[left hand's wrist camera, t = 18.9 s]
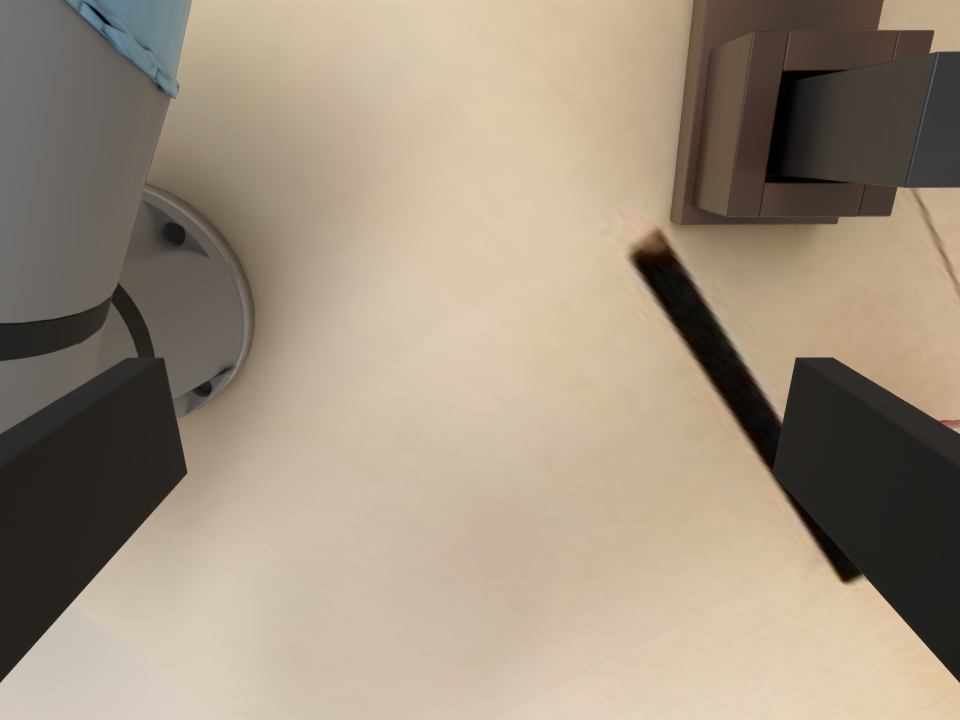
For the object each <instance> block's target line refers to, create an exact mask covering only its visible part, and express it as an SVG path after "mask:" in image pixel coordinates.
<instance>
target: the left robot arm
mask: <svg viewBox="0 0 960 720" xmlns="http://www.w3.org/2000/svg"><path fill="white" fill-rule="evenodd" d="M191 3H192V0H0V682H1V681H2V680H3V679H4V678H5V677H6V676H7V675H8V673H9V672H10V671H11V670H12V669H13V668H14V667H15V666H16V665H17V663H18V662H19V661H20V660H21V659H22V658H23V657H24V656H25V654H26V653H27V652H28V651H29V650H30V649H31V648H32V647H33V646H34V644H35V643H36V642H37V641H38V640H39V639H40V638H41V637H42V635H43V634H44V633H45V632H46V631H47V630H48V629H49V627H50V626H51V625H52V624H53V623H54V622H55V621H56V620H57V619H58V617H59V616H60V615H61V614H62V613H63V612H64V611H65V610H66V608H67V607H68V606H69V605H70V604H71V603H72V602H73V601H74V600H75V598H76V597H77V596H78V595H79V594H80V593H81V592H82V591H83V589H84V588H85V587H86V586H87V585H88V584H89V583H90V582H91V581H92V579H93V578H94V577H95V576H96V575H97V574H98V573H99V572H100V570H101V569H102V568H103V567H104V566H105V565H106V564H107V563H108V561H109V560H110V559H111V558H112V557H113V556H114V555H115V554H116V553H117V551H118V550H119V549H120V548H121V547H122V546H123V545H124V544H125V542H126V541H127V540H128V539H129V538H130V537H131V536H132V535H133V533H134V532H135V531H136V530H137V529H138V528H139V527H140V526H141V524H142V523H143V522H144V521H145V520H146V519H147V518H148V517H149V516H150V514H151V513H152V512H153V511H154V510H155V509H156V508H157V507H158V505H159V504H160V503H161V502H162V501H163V500H164V499H165V498H166V496H167V495H168V494H169V493H170V492H171V491H172V490H173V489H174V488H175V486H176V485H177V484H178V483H179V482H180V481H181V480H182V479H183V477H184V476H185V475H186V474H187V468H186V463H185V458H184V454H183V449H182V444H181V439H180V434H179V429H178V424H177V418H180V417H182V416H185V415H187V414H189V413H191V412H193V411H195V410H197V409H199V408H200V407H202V406H204V405H205V404H207V403H208V402H209V401H211V400H212V399H213V398H215V397H216V396H217V395H218V394H219V393H220V392H221V391H222V390H223V389H224V388H225V387H226V386H227V385H228V384H229V383H230V382H231V381H232V380H233V379H234V377H235V376H236V375H237V373H238V372H239V370H240V369H241V367H242V365H243V363H244V361H245V359H246V357H247V354H248V352H249V349H250V345H251V341H252V337H253V328H254V311H253V302H252V297H251V292H250V288H249V285H248V281H247V279H246V276H245V274H244V271H243V269H242V267H241V265H240V263H239V261H238V259H237V257H236V255H235V254H234V252H233V250H232V249H231V247H230V246H229V244H228V243H227V242H226V240H225V239H224V238H223V236H222V235H221V234H220V233H219V232H218V231H217V230H216V228H215V227H214V226H213V225H212V224H211V223H210V222H209V221H208V220H207V219H205V218H204V217H203V216H202V215H201V214H200V213H198V212H197V211H196V210H195V209H193V208H192V207H191V206H189V205H188V204H186V203H185V202H183V201H182V200H180V199H178V198H177V197H175V196H173V195H171V194H169V193H167V192H165V191H163V190H160V189H158V188H156V187H153V186H150V185H147V184H145V183H146V179H147V175H148V172H149V169H150V165H151V162H152V159H153V155H154V152H155V149H156V145H157V142H158V139H159V135H160V132H161V129H162V125H163V122H164V119H165V116H166V112H167V109H168V106H169V102H170V99H171V97H172V98H174V99H176V96H177V94H178V91H179V84H178V82H177V80H176V74H177V69H178V64H179V59H180V54H181V49H182V44H183V39H184V34H185V30H186V25H187V20H188V16H189V12H190V7H191ZM773 474H774V475H775V476H776V477H777V479H778V480H779V481H780V482H781V483H782V484H783V485H784V486H785V488H786V489H787V490H788V491H789V492H790V493H791V494H792V495H793V496H794V498H795V499H796V500H797V501H798V502H799V503H800V504H801V505H802V507H803V508H804V509H805V510H806V511H807V512H808V513H809V514H810V516H811V517H812V518H813V519H814V520H815V521H816V522H817V523H818V524H819V526H820V527H821V528H822V529H823V530H824V531H825V532H826V533H827V535H828V536H829V537H830V538H831V539H832V540H833V541H834V542H835V544H836V545H837V546H838V547H839V548H840V549H841V550H842V551H843V553H844V554H845V555H846V556H847V557H848V558H849V559H850V560H851V561H852V563H853V564H854V565H855V566H856V567H857V568H858V569H859V570H860V572H861V573H862V574H863V575H864V576H865V577H866V578H867V579H868V581H869V582H870V583H871V584H872V585H873V586H874V587H875V588H876V589H877V591H878V592H879V593H880V594H881V595H882V596H883V597H884V598H885V600H886V601H887V602H888V603H889V604H890V605H891V606H892V607H893V609H894V610H895V611H896V612H897V613H898V614H899V615H900V616H901V617H902V619H903V620H904V621H905V622H906V623H907V624H908V625H909V626H910V628H911V629H912V630H913V631H914V632H915V633H916V634H917V635H918V637H919V638H920V639H921V640H922V641H923V642H924V643H925V644H926V646H927V647H928V648H929V649H930V650H931V651H932V652H933V653H934V654H935V656H936V657H937V658H938V659H939V660H940V661H941V662H942V663H943V665H944V666H945V667H946V668H947V669H948V670H949V671H950V672H951V674H952V675H953V676H954V677H955V678H956V679H957V680H958V681H959V682H960V434H959V433H957V432H956V431H954V430H952V429H951V428H949V427H947V426H946V425H944V424H942V423H941V422H939V421H937V420H936V419H934V418H932V417H931V416H929V415H927V414H926V413H924V412H922V411H921V410H919V409H917V408H916V407H914V406H912V405H911V404H909V403H907V402H906V401H904V400H902V399H901V398H899V397H897V396H896V395H894V394H892V393H891V392H889V391H887V390H886V389H884V388H882V387H881V386H879V385H877V384H876V383H874V382H872V381H871V380H869V379H868V378H866V377H864V376H863V375H861V374H859V373H858V372H856V371H854V370H853V369H851V368H849V367H848V366H846V365H844V364H843V363H841V362H839V361H838V360H836V359H834V358H796V360H795V365H794V370H793V375H792V380H791V385H790V389H789V394H788V399H787V404H786V409H785V414H784V419H783V424H782V429H781V434H780V439H779V444H778V449H777V454H776V458H775V463H774V468H773Z"/></svg>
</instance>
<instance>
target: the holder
mask: <svg viewBox="0 0 960 720" xmlns="http://www.w3.org/2000/svg"><path fill="white" fill-rule="evenodd" d="M882 5H883V0H694V6H693V15H692V24H691V34H690V43H689V52H688V62H687V71H686V80H685V89H684V99H683V108H682V117H681V126H680V136H679V145H678V154H677V163H676V173H675V182H674V191H673V200H672V210H671V219H670V220H671V221H673V222H676V223H678V224H681V225H743V224H837V222H838V218H839V217H857V216H859V217H867V216H890V215H891V212H892V208H893V204H894V199H895V195H896V191H897V187H893V186H884V185H874V184H864V183H854V182H844V181H834V180H825V179H815V178H805V177H795V176H785V175H776V174H766V169H767V163H768V156H769V150H770V144H771V138H772V131H773V125H774V119H775V113H776V107H777V100H778V94H779V88H780V84H781V83H786V82H791V81H796V80H801V79H806V78H811V77H816V76H821V75H826V74H831V73H836V72H841V71H846V70H851V69H855V68H860V67H865V66H870V65H875V64H880V63H885V62H890V61H895V60H900V59H905V58H910V57H915V56H920V55H925V54H929V52H930V48H931V44H932V40H933V35H934V31H933V30H899V31H898V30H877V29H878V25H879V20H880V15H881V10H882Z"/></svg>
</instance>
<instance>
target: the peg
mask: <svg viewBox="0 0 960 720" xmlns="http://www.w3.org/2000/svg"><path fill="white" fill-rule="evenodd" d="M766 174H776V175H785V176H795V177H805V178H815V179H825V180H834V181H844V182H854V183H864V184H874V185H884V186H893V187H903V188H959V187H960V52H935V53H930V54H925V55H920V56H915V57H910V58H905V59H900V60H895V61H890V62H885V63H880V64H875V65H870V66H865V67H860V68H855V69H851V70H846V71H841V72H836V73H831V74H826V75H821V76H816V77H811V78H806V79H801V80H796V81H791V82H786V83H781V84H780V88H779V94H778V100H777V107H776V113H775V119H774V125H773V131H772V138H771V144H770V150H769V156H768V163H767V169H766Z"/></svg>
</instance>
